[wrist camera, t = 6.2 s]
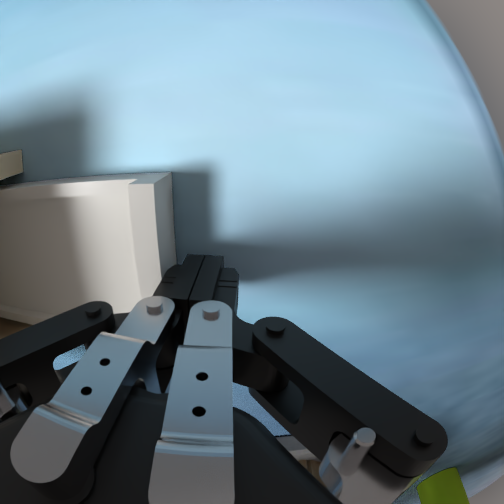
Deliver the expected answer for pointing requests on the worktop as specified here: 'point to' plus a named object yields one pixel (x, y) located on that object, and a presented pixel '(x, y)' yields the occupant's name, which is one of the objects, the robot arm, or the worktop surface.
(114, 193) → the white pull-out drawer
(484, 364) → the worktop surface
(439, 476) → the soap dispenser
